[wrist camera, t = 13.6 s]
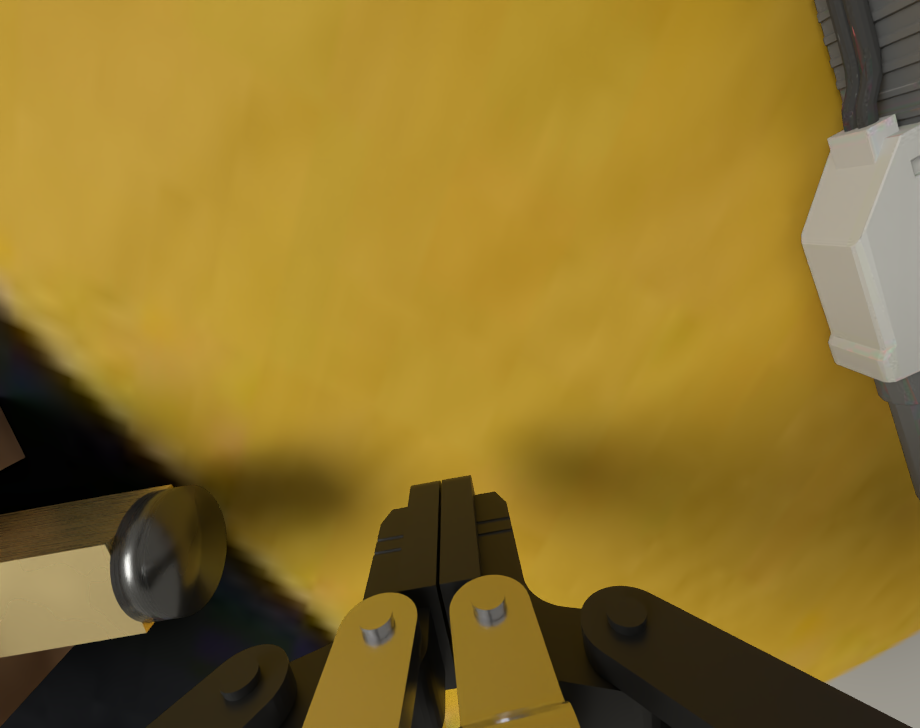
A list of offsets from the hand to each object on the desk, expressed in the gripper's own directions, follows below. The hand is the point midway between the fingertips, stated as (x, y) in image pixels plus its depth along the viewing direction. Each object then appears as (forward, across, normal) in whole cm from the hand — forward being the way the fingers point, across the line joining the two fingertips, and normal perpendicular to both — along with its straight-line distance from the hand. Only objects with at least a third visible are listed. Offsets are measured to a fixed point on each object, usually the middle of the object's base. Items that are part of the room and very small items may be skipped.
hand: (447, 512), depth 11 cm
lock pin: (+1, +12, 0) cm, 12 cm away
